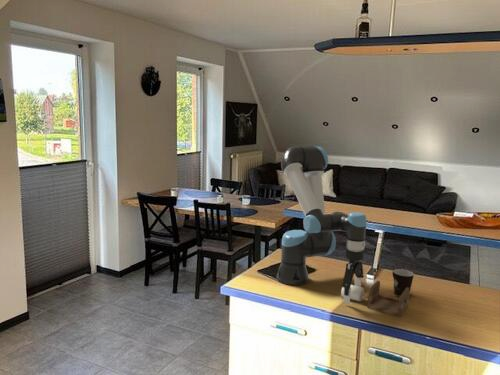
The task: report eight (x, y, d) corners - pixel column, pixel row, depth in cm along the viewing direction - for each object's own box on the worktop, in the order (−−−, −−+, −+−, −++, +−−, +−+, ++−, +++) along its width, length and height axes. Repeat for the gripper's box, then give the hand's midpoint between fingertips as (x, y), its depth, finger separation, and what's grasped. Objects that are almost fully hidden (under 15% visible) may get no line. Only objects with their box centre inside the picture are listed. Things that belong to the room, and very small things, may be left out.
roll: (340, 297, 181) (342, 283, 182) (344, 296, 186) (346, 283, 187) (358, 301, 177) (360, 287, 177) (362, 301, 182) (364, 287, 182)
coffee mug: (413, 298, 184) (415, 277, 182) (392, 296, 186) (394, 275, 184) (408, 288, 195) (410, 268, 194) (389, 286, 197) (391, 266, 195)
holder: (366, 307, 174) (368, 289, 173) (374, 297, 184) (376, 280, 183) (401, 317, 166) (403, 298, 165) (408, 306, 176) (410, 288, 175)
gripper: (354, 258, 165) (350, 309, 168) (372, 244, 186) (369, 289, 189) (335, 254, 169) (333, 304, 172) (356, 241, 190) (353, 285, 193)
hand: (352, 296), depth 181 cm, fingers open, 13 cm apart
